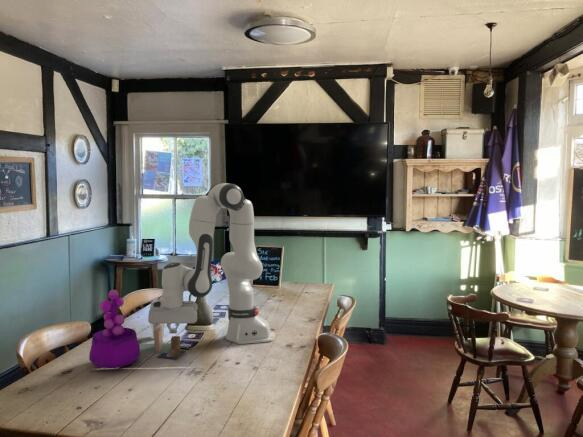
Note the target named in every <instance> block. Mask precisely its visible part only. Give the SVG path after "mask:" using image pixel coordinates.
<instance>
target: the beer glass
mask: <svg viewBox="0 0 583 437" xmlns="http://www.w3.org/2000/svg"><path fill="white" fill-rule="evenodd" d="M150 309H151V305H150V306H149V310H150ZM158 325H162V340H163V339H164V338H165V337H166V336H165V331H164V330H165V324H150V329H151V336H150V339H151V340H154V330H155V329H156V327H157V326H158Z"/></svg>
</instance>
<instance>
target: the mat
mask: <svg viewBox="0 0 583 437" xmlns="http://www.w3.org/2000/svg"><path fill="white" fill-rule="evenodd" d="M139 346H140V355H141V354H144V355H145V354H171V342H169V343H163V346H162V347H161V349H160V351H155V343H139Z"/></svg>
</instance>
